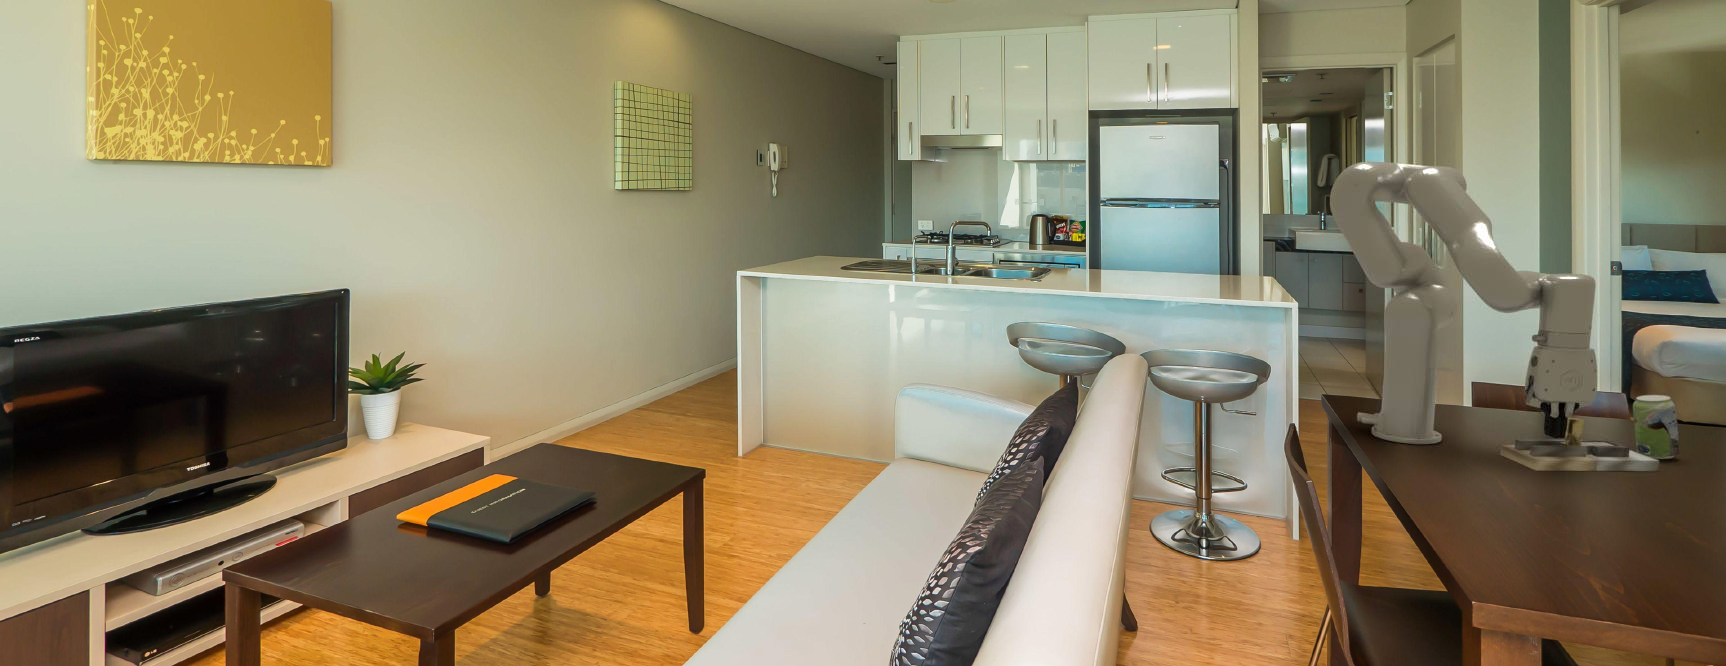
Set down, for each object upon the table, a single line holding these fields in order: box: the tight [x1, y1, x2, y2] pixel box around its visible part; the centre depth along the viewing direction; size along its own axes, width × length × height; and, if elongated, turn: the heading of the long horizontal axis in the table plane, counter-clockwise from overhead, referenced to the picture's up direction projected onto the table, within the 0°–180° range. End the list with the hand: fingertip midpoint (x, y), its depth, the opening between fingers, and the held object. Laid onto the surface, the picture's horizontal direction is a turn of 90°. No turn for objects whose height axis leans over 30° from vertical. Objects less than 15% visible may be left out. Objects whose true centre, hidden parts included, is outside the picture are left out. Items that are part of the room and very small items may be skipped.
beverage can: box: [1632, 394, 1680, 460], centre depth 163 cm, size 6×7×12 cm
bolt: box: [1560, 417, 1614, 454], centre depth 161 cm, size 8×2×6 cm, turn 85°
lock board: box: [1500, 438, 1660, 472], centre depth 161 cm, size 21×10×4 cm, turn 85°
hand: (1554, 436), depth 161 cm, fingers closed
